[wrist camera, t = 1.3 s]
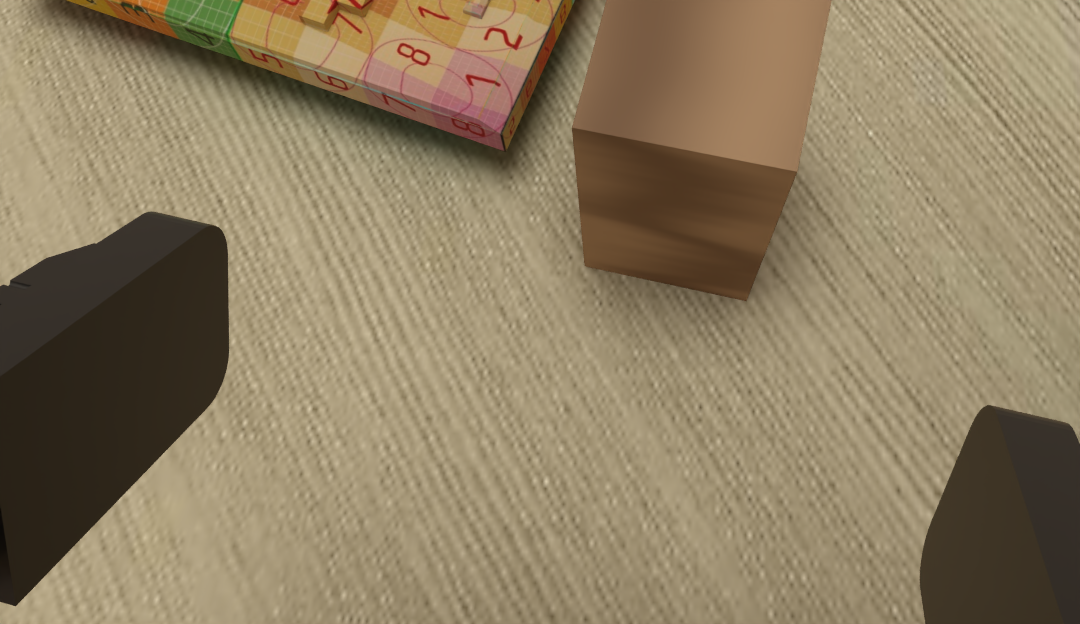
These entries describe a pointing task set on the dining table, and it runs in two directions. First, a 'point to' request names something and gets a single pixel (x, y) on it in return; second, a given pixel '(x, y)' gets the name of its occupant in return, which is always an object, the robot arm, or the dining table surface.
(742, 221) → the walnut block
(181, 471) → the dining table surface
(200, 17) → the puzzle game
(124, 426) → the robot arm
